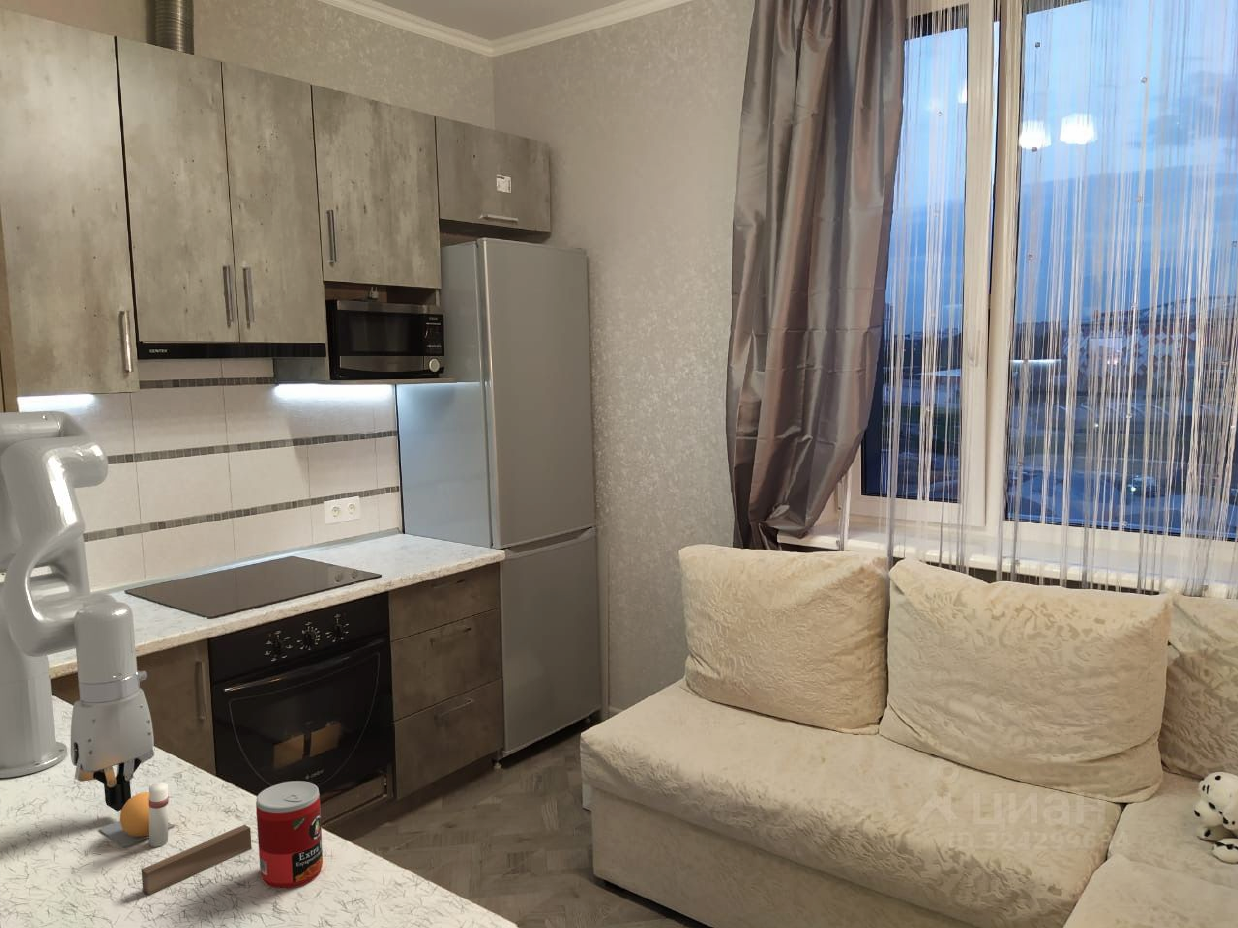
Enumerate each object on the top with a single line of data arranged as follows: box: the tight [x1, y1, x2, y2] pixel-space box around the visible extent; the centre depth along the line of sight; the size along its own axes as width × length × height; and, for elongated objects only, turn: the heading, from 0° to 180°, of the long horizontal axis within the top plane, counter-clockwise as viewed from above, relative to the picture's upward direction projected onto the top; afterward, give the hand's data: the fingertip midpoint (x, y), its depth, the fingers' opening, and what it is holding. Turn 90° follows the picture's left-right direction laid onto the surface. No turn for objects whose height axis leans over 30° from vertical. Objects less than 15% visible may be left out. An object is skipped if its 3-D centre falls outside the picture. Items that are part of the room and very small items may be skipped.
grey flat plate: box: [98, 820, 175, 848], centre depth 131 cm, size 8×7×1 cm
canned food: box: [255, 780, 324, 890], centre depth 118 cm, size 8×8×11 cm
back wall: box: [141, 824, 253, 897], centre depth 120 cm, size 2×14×3 cm, turn 142°
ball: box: [119, 791, 149, 837], centre depth 129 cm, size 6×6×6 cm
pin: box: [148, 781, 170, 848], centre depth 126 cm, size 2×2×8 cm
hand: (118, 806), depth 134 cm, fingers closed
